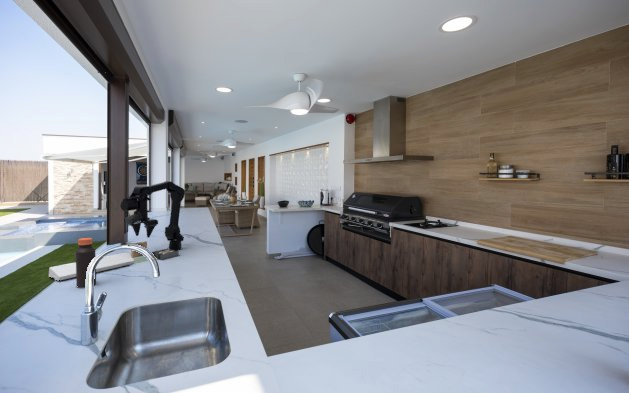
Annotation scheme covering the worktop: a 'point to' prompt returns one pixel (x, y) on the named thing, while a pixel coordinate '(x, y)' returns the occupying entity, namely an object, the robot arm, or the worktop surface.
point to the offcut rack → (165, 256)
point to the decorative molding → (105, 264)
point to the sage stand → (140, 260)
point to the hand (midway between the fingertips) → (142, 236)
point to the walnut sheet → (136, 254)
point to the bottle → (84, 260)
